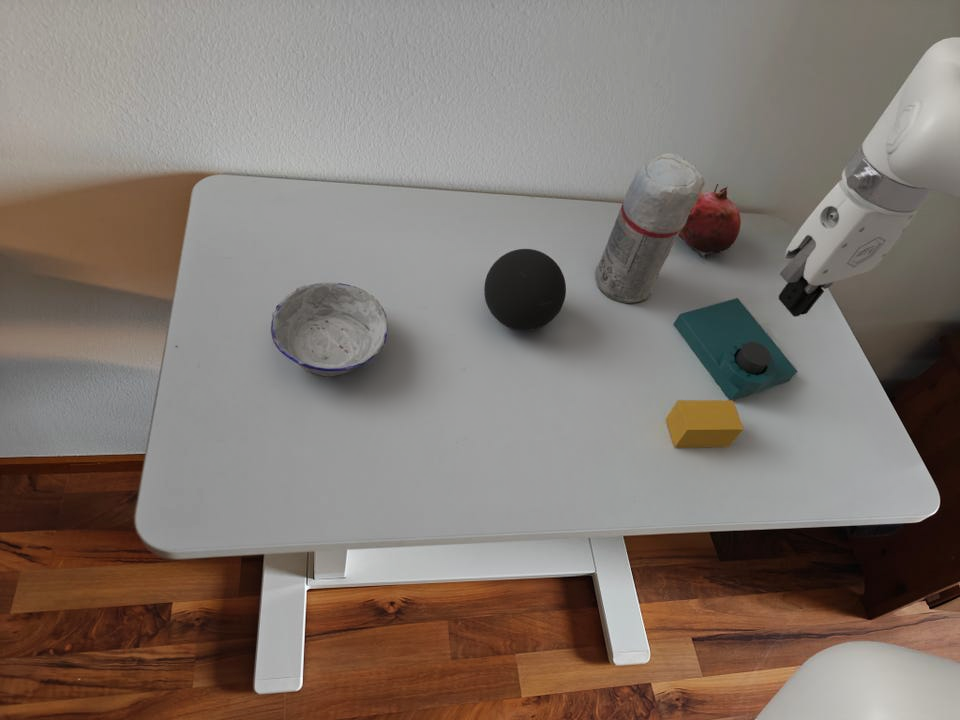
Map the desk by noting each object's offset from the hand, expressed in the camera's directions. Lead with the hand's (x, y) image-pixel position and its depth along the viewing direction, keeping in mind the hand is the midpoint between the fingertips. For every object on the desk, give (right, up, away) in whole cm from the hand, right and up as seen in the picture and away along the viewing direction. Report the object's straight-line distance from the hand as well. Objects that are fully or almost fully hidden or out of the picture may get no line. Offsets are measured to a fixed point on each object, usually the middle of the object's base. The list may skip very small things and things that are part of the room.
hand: (791, 305), depth 82 cm
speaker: (-30, -1, +12) cm, 32 cm away
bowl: (-53, -5, +4) cm, 53 cm away
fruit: (-3, +11, +26) cm, 29 cm away
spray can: (-16, +4, +18) cm, 24 cm away
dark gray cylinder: (-2, -7, +8) cm, 11 cm away
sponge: (-9, -15, +5) cm, 18 cm away
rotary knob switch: (-2, -5, +14) cm, 15 cm away
